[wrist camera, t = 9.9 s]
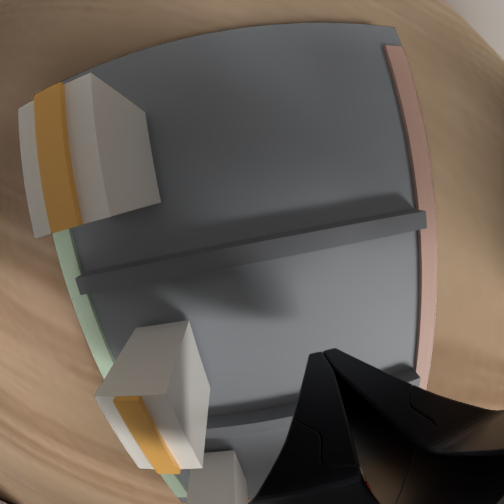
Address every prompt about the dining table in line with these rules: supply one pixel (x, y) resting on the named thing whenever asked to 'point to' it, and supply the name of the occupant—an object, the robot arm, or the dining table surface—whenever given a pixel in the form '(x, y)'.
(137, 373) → the block
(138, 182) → the block
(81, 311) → the panel
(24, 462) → the dining table surface
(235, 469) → the block
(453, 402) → the robot arm
